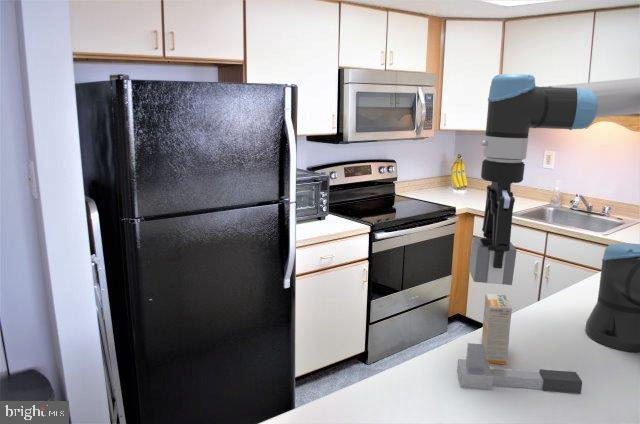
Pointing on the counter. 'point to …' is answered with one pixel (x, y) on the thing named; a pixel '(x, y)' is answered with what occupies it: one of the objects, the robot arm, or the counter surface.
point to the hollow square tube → (481, 261)
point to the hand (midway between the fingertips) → (490, 276)
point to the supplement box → (496, 328)
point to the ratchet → (511, 375)
